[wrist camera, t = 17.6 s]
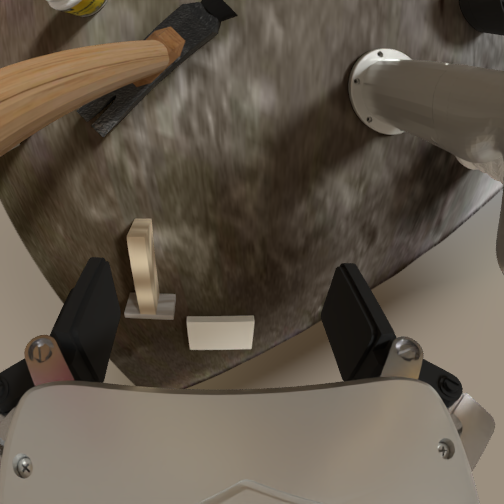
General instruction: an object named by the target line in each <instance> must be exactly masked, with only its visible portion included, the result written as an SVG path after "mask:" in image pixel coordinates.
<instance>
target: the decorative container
mask: <svg viewBox="0 0 504 504" xmlns="http://www.w3.org/2000/svg"><path fill="white" fill-rule="evenodd" d="M456 158H457V160H458V161H459V163H461V164H462V165H463V166H465V167H467V168H468V169H472V170H475V169H479V170H480V171H481V172H483V173H487V174H488V175H489V176H491V178H494V180H497V181H501V183H502V184H503V185H504V182H503V177H504V161H503V157H502V156H501V157H499V158H497V159H495V160H493V161H490V162H486V163H472V162H468V161H465V160H463V159H461V158H459V157H457V156H456Z"/></svg>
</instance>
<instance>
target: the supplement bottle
mask: <svg viewBox="0 0 504 504" xmlns="http://www.w3.org/2000/svg"><path fill="white" fill-rule="evenodd" d="M47 1H48V3H49V5H50V6H51V7H52V8H54V9H56V10H59V11H63V12H66V13H70V14H73V15H76V16H81V17H86V16H90V15H93V14H95V13H96V12H98V11H99V10H100V9H101V8H102V7H103V6H104V5H105V3H106V2H107V0H47Z"/></svg>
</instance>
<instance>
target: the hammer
mask: <svg viewBox="0 0 504 504" xmlns="http://www.w3.org/2000/svg"><path fill="white" fill-rule="evenodd" d="M235 16H238V15H237V14H236V13H235V12H234V11H233V10H232V9H231V8H230V7H229V6H228V5H227V4H226V3H225V2H224V1H223V0H202V1H201V2H196V3H189V4H182V5H181V6H180V7H179V8H177V9H176V10H175V11H174V12H173V13H172V14H171V15H169V16H168V17H167V18H166V19H165V20H164V21H163V22H162V23H160V24H159V25H158V26H157V27H156V28H155V29H154V30H153V31H152V32H151V33H150V34H149V35H148V36H147V37H146V38H145V39H144V40H141V41H128V42H117V43H109V44H101V45H94V46H87V47H81V48H76V49H70V50H65V51H61V52H56V53H52V54H48V55H44V56H40V57H36V58H32V59H29V60H25V61H22V62H18V63H15V64H12V65H9V66H6V67H3V68H0V157H1V156H2V155H4V154H5V153H6V152H8V151H9V150H11V149H12V148H13V147H15V146H16V145H18V144H19V143H21V142H22V141H24V140H25V139H27V138H28V137H30V136H31V135H33V134H34V133H36V132H37V131H39V130H41V129H42V128H44V127H45V126H47V125H49V124H50V123H52V122H54V121H56V120H57V119H59V118H61V117H63V116H64V115H66V114H68V113H70V112H72V111H73V110H75V109H77V108H79V107H81V106H82V107H81V108H80V109H79V110H77V112H78V113H79V114H80V115H81V116H82V117H83V118H84V119H85V120H86V121H87V122H88V121H89V120H91V119H92V118H93V117H94V116H95V115H97V114H98V113H99V112H100V111H101V110H103V109H104V108H105V107H106V106H107V105H108V104H109V103H111V102H112V101H113V100H114V99H115V101H114V102H113V103H112V104H111V105H110V107H109V108H108V109H107V110H106V111H105V112H104V113H103V114H102V115H101V116H100V117H99V118H98V119H97V120H96V121H95V122H94V123H93V124H92V125H91V126H92V127H93V128H94V129H95V130H96V131H97V132H98V133H99V134H100V135H101V136H102V137H104V136H105V135H106V134H107V133H108V132H109V131H110V130H112V129H113V128H114V127H115V126H116V125H117V124H118V123H119V122H120V121H121V120H122V119H123V118H124V117H125V116H126V115H127V114H128V113H129V112H130V111H131V110H132V109H133V108H134V107H135V106H136V105H137V104H138V103H139V102H140V101H141V100H142V99H143V98H144V97H145V96H146V95H147V94H148V93H149V92H150V91H151V90H152V89H153V88H154V87H155V86H156V85H157V84H158V83H159V82H160V81H161V80H162V79H164V78H165V77H166V76H167V75H168V74H169V73H170V72H171V71H173V70H174V69H175V68H176V67H177V66H178V65H180V64H181V63H182V62H183V61H184V60H185V59H187V58H188V57H189V56H190V55H191V54H193V53H194V52H195V51H196V50H198V49H199V48H200V47H201V46H203V45H204V44H205V43H206V42H208V41H209V40H210V39H212V38H213V37H214V36H216V35H217V34H218V30H219V27H220V24H221V21H224V20H227V19H230V18H232V17H235Z"/></svg>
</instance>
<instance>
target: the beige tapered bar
mask: <svg viewBox="0 0 504 504" xmlns="http://www.w3.org/2000/svg"><path fill="white" fill-rule="evenodd" d="M127 244H128V250H129V257H130V263H131V269H132V274H133V280H134V285H135V290H136V293H130V295H129V298H128V302H127V305H126V309H125V312H124V314H125V318H142V319H168V320H174V311H175V303H176V294H160V293H159V286H158V278H157V270H156V261H155V252H154V242H153V230H152V219H135V220H134V222H133V224H132V226H131V228H130V230H129V232H128V234H127Z"/></svg>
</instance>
